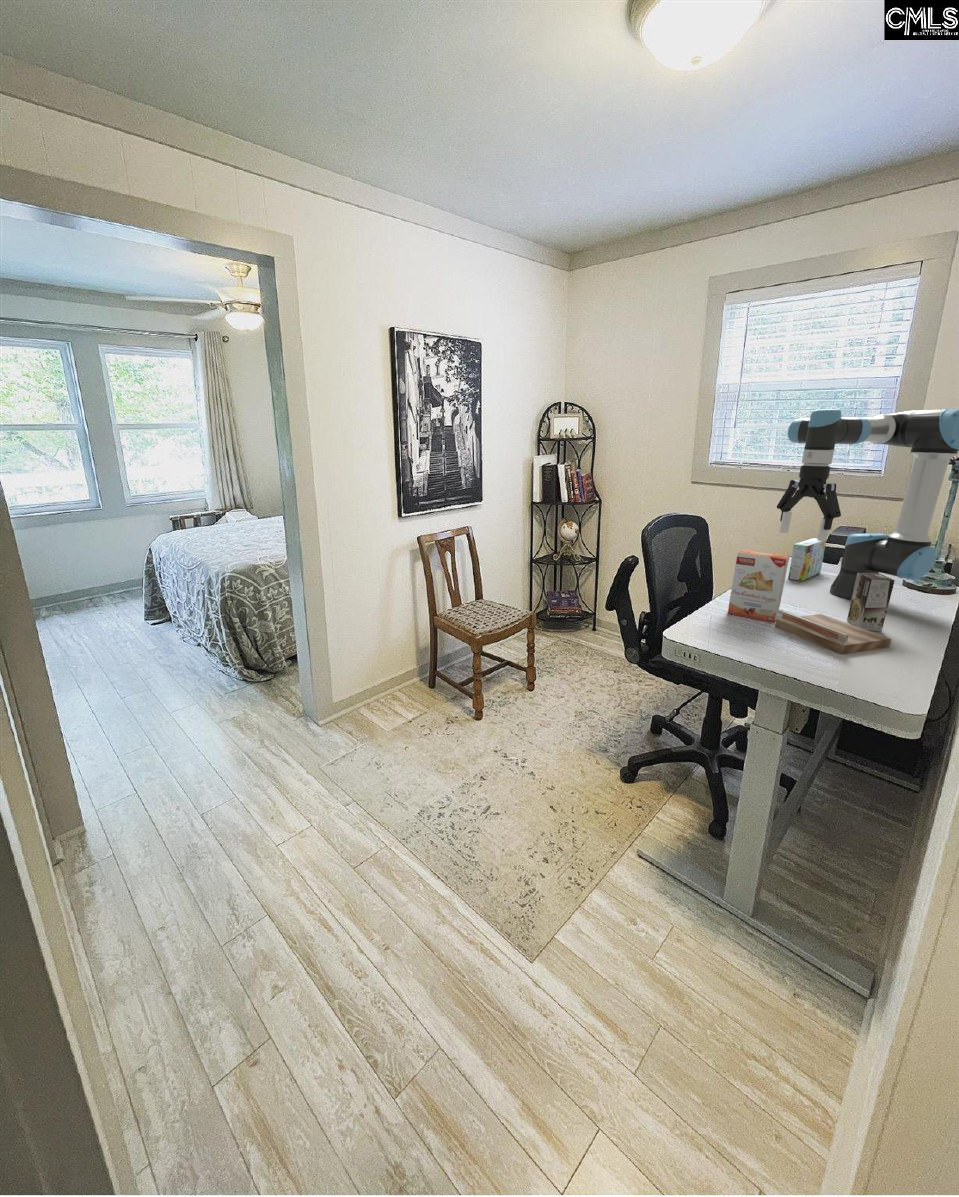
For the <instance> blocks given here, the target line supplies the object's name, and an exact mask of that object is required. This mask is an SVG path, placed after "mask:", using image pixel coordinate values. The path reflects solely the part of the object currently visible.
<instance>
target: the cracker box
mask: <svg viewBox="0 0 959 1197" xmlns="http://www.w3.org/2000/svg"><path fill="white" fill-rule="evenodd" d="M789 561H790V555H783V554H777V553H767V552H760V551H753V550H746V549H741V550H739V551H738V552H737V556H736V560H735V562H736V563H735V566H734V572H733V578H732V585H731V591H730V596H729V603H728V609H727V614H730V615H734V616H738V617H739V616H740V617H745V618H750V619H755V620H759V621H764V622H769V623H776V618H777V612H778V610H780V607H781V601H782V597H783V593H784V588H785V587H784V585H785V581H786V577H787V571H788V567H789V566H788V565H789Z"/></svg>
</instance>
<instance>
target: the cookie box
mask: <svg viewBox="0 0 959 1197" xmlns="http://www.w3.org/2000/svg"><path fill="white" fill-rule="evenodd" d="M895 581H896V580H895V579H893V578H891V577H888V576H886V575H884V574H883V573H880V572H879V573H857V577H856V581H855V586H854V590H853V595H852V599H850V605H849V609H848V613H847V614H848V615H847V618H846V621H847V623H849V624H851V625H854V626H857V627H860V628H862V629H865V630H868V631H871V632H873V631H874V632H882V631H883V628H884V625H885V619H886V616H887V612H888V608H889V604H890V600H891V597H892V592H893V589H894V585H895Z"/></svg>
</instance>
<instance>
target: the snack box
mask: <svg viewBox="0 0 959 1197" xmlns="http://www.w3.org/2000/svg"><path fill="white" fill-rule="evenodd" d="M817 539H818V537H816V538H815V537H813V538H810V539H809V538H808V539H807V540H803V541H800V542H797V543H794V544H793V547H792V554H791V560H790V567H789V570H788V571H789V572H788V576H787V577H788V578H787V580H791V581H796V580H798V581H797V582H802V580H803V581H805V580H807V578H808V579H810V578H812V577H811V576H813V577H815V576H817V575H816V574H818V573H820V574H821V571H822V566H823V560H824V554H825V549H826V544H827V540H826V541H817ZM814 575H815V576H814ZM818 575H819V574H818ZM809 577H810V578H809Z"/></svg>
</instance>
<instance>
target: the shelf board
mask: <svg viewBox="0 0 959 1197" xmlns="http://www.w3.org/2000/svg"><path fill="white" fill-rule="evenodd" d="M774 623H775V625H774V628H776V629H779V630H781V631H784V632H786V633H788V634H790V635H793V636H796V637H799V638H800V639H803V640H806V641H809V642H810V643H813V644H815V645H818V646H820V647H822V648H824V649H825V648H826V649H827V650H830V651H833V652H835V653H837V654H839V655H847V654H850V653H858V652H863V651H871V650H878V649H885V648H890V646H891V642H892V638H891V637H888V636H886V635H882V634H879V633H876V632H875V631H874V632H873V631H872V630H865V629H862V628H860V627H857V626H854V625H853V624H851V623H849V622H845V621H842V620H839V619H837V618H834V617H831V616H827V615H825V614H822V613H818V614H817V613H816V614H811V615H809V614H808V615H801V616H799V615H796V614H794V613H792V612H788V611H786V610H783V609H779V610H778V612H777V618H776V620H775V622H774Z"/></svg>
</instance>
